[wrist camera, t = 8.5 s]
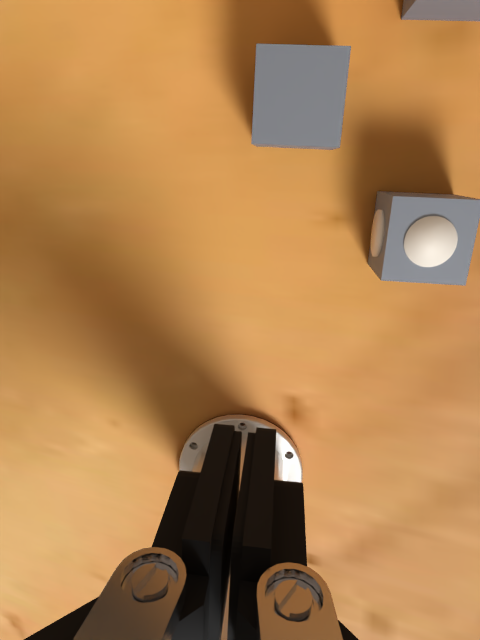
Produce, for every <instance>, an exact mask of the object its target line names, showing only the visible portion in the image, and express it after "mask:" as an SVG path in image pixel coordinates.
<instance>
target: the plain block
mask: <svg viewBox="0 0 480 640" xmlns="http://www.w3.org/2000/svg"><path fill="white" fill-rule="evenodd" d="M350 50H351V46H328V45H290V44H256V62H255V82H254V102H253V123H252V143H251V144H253V145H255V146H258V147H280V148H303V149H325V150H333V149H336V148H340V141H341V132H342V123H343V114H344V105H345V96H346V87H347V78H348V68H349V59H350Z"/></svg>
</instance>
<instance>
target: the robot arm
mask: <svg viewBox="0 0 480 640" xmlns="http://www.w3.org/2000/svg"><path fill="white" fill-rule="evenodd" d="M24 640H358V639H357V638H356V637H355V636H354V635H353V634H352V633H351V632H350V631H349V630H348V629H347V628H346V627H345V626H344V625H343V624H342V623H341V622H340V621H339V620H338V619H337V615H336V611H335V607H334V604H333V600H332V596H331V593H330V590H329V588H328V586H327V584H326V582H325V581H324V580H323V579H322V577H321V576H320V575H319V574H318V573H316V572H315V571H314V570H312V569H311V568H309V567H307V557H306V536H305V514H304V493H303V483H302V463H301V458H300V455H299V452H298V449H297V448H296V446H295V445H294V443H293V441H292V440H291V439H290V438H289V437H288V436H287V434H286V433H285V432H284V431H282V430H281V429H280V428H278V427H277V426H275V425H274V424H272V423H270V422H268V421H266V420H264V419H260V418H257V417H254V416H248V415H241V414H239V415H225V416H221V417H216V418H214V419H212V420H209V421H207V422H205V423H204V424H202V425H201V426H199V427H198V428H197V429H196V430H195V431H194V432H193V433H192V434H191V435H190V436H189V438H188V439H187V441H186V442H185V444H184V447H183V449H182V452H181V456H180V460H179V472H178V475H177V477H176V480H175V483H174V486H173V489H172V491H171V494H170V497H169V500H168V503H167V505H166V508H165V511H164V514H163V517H162V519H161V522H160V525H159V528H158V531H157V534H156V536H155V539H154V542H153V545H152V547H151V548H144V549H141V550H138V551H136V552H133V553H132V554H130V555H129V556H128V557H126V558H125V559H123V561H122V562H121V563H120V564H119V566H118V567H117V568H116V570H115V571H114V573H113V575H112V576H111V578H110V580H109V581H108V583H107V585H106V586H105V588H104V589H103V591H102V593H101V594H100V596H99V597H97V598H96V599H94V600H92V601H90V602H89V603H87V604H85V605H83V606H82V607H80V608H78V609H76V610H75V611H73V612H71V613H69V614H68V615H66V616H64V617H62V618H61V619H59V620H57V621H55V622H54V623H52V624H50V625H48V626H47V627H45V628H43V629H42V630H40V631H38V632H36V633H35V634H33V635H31V636H29V637H28V638H26V639H24Z"/></svg>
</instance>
